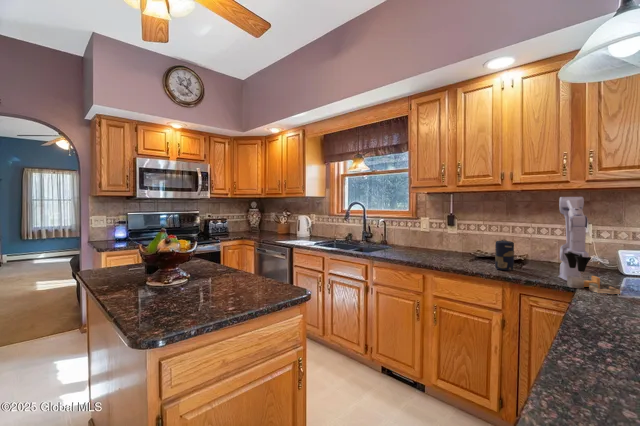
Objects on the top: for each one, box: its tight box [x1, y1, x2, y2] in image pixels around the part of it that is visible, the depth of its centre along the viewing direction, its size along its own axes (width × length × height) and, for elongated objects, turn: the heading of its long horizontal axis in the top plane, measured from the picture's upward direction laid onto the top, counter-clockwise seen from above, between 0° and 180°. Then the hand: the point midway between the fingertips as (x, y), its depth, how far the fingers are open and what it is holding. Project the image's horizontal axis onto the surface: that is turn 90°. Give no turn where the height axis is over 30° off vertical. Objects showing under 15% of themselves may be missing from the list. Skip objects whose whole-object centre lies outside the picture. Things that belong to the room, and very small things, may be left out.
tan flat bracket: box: [588, 285, 621, 295], centre depth 138 cm, size 6×8×2 cm
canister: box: [494, 239, 515, 271], centre depth 184 cm, size 10×10×18 cm
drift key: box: [584, 275, 601, 289], centre depth 146 cm, size 4×6×5 cm
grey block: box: [566, 275, 585, 289], centre depth 147 cm, size 4×5×5 cm
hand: (576, 269), depth 147 cm, fingers open, 7 cm apart
